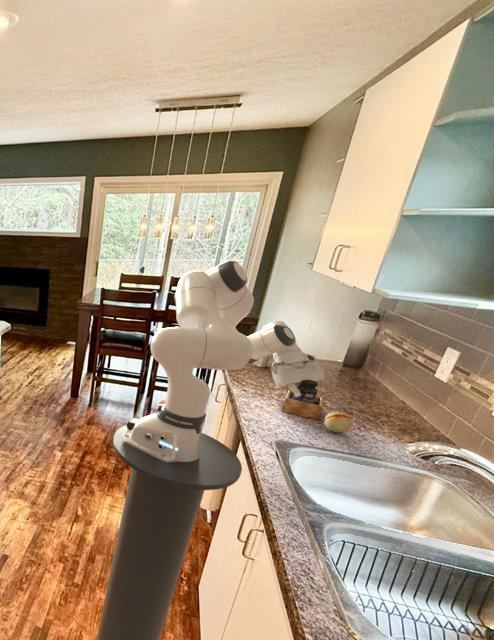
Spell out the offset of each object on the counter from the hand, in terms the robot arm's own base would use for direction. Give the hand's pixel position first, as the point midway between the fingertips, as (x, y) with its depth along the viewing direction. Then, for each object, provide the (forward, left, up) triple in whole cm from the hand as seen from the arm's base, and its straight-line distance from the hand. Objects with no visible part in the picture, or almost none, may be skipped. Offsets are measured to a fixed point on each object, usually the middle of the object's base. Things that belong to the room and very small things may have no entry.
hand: (307, 395), depth 144 cm
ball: (+10, -12, -7) cm, 16 cm away
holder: (0, 0, -6) cm, 7 cm away
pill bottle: (-1, 0, -6) cm, 6 cm away
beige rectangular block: (-19, +50, -7) cm, 54 cm away
